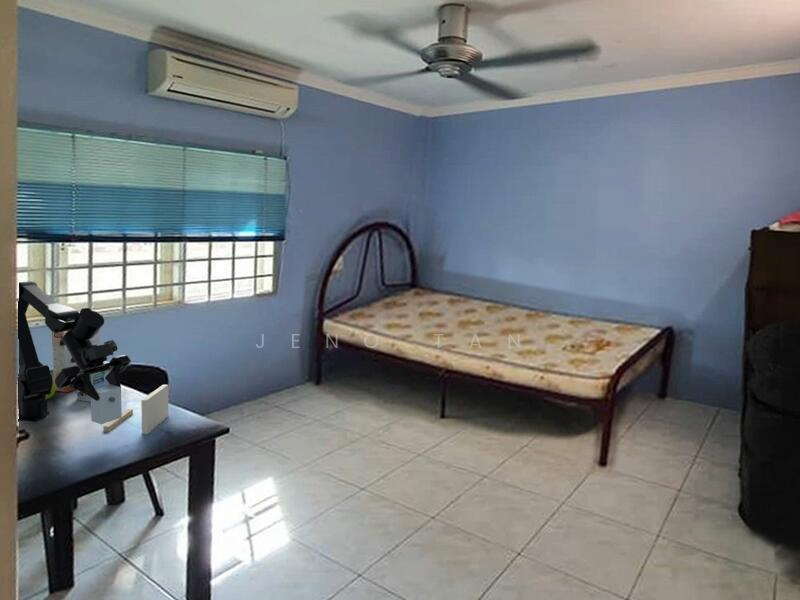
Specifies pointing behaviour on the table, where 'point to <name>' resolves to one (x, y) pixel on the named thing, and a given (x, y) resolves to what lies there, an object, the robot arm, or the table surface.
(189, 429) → the table surface
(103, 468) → the table surface
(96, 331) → the robot arm
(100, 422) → the pale grey square box
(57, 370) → the cracker box
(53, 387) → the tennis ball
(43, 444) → the table surface
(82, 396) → the light bulb box
